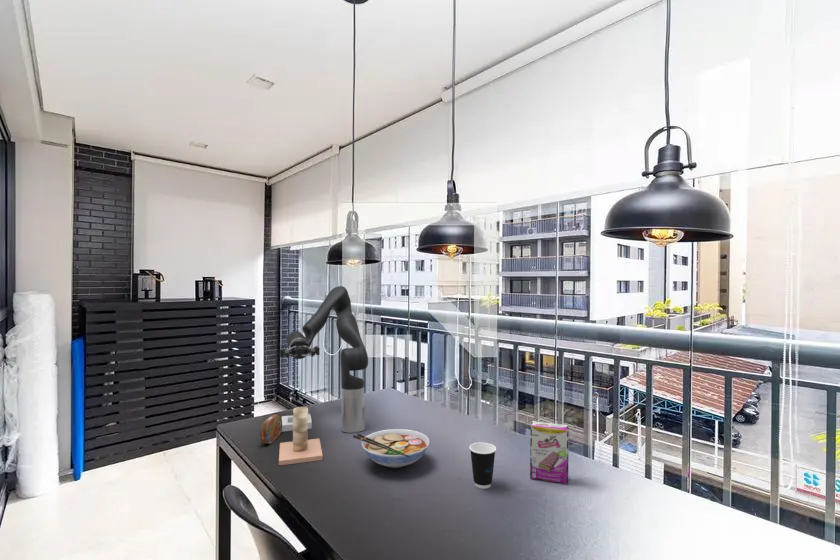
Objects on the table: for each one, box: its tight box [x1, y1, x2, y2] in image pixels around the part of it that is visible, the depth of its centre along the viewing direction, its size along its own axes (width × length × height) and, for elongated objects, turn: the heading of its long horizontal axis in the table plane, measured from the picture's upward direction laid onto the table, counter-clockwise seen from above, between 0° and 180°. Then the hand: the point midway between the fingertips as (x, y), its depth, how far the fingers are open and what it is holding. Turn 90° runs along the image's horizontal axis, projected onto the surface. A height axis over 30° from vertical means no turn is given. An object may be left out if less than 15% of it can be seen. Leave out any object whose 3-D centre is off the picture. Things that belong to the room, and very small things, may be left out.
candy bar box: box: [529, 420, 570, 485], centre depth 124 cm, size 11×5×16 cm, turn 71°
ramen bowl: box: [352, 428, 431, 469], centre depth 135 cm, size 25×23×8 cm
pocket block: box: [281, 413, 313, 433], centre depth 171 cm, size 12×12×2 cm
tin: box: [259, 414, 282, 445], centre depth 156 cm, size 15×3×8 cm, turn 177°
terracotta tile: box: [278, 438, 324, 466], centre depth 143 cm, size 14×16×2 cm
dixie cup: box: [469, 441, 497, 490], centre depth 120 cm, size 8×8×11 cm
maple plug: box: [292, 406, 309, 452], centre depth 143 cm, size 5×5×14 cm
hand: (300, 354), depth 147 cm, fingers open, 8 cm apart
